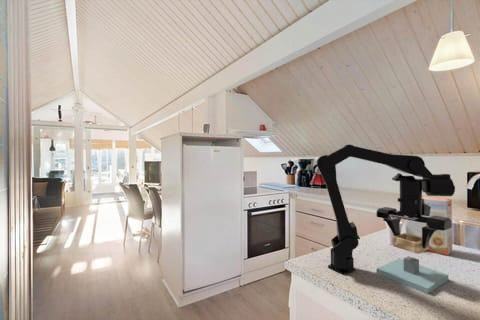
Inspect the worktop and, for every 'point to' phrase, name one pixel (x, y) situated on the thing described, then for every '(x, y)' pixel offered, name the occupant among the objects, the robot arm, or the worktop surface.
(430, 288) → the post board
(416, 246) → the square frame
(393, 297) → the worktop surface
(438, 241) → the cracker box
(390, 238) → the smoothie
